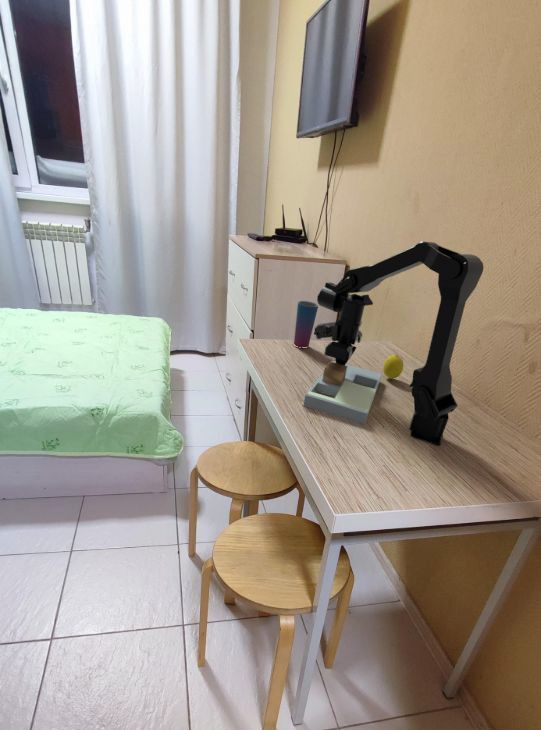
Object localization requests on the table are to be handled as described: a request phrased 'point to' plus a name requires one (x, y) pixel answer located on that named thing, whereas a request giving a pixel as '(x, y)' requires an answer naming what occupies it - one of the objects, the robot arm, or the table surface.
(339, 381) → the block
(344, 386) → the board
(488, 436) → the table surface
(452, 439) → the table surface
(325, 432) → the table surface
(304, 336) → the cup
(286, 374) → the table surface
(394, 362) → the lemon
